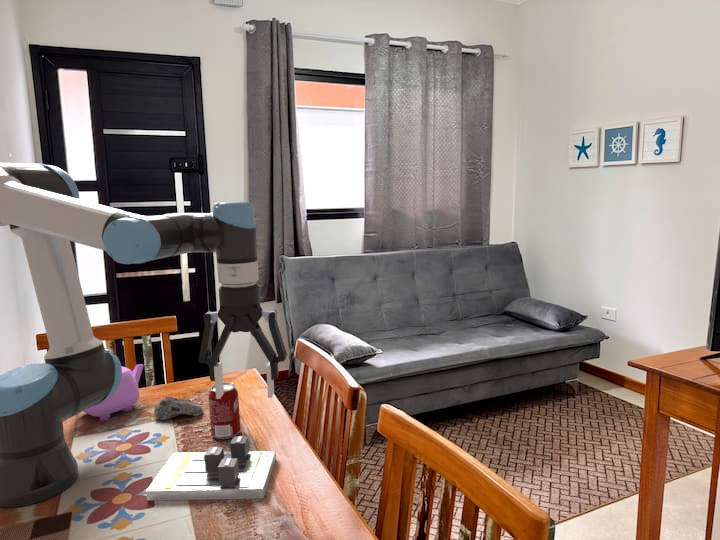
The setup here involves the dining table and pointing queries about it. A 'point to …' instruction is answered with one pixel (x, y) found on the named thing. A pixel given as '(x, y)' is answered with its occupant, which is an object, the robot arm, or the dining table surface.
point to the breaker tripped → (213, 458)
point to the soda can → (224, 412)
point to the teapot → (120, 395)
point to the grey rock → (176, 408)
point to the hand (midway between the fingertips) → (245, 395)
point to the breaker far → (239, 447)
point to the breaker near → (228, 471)
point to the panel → (211, 478)
